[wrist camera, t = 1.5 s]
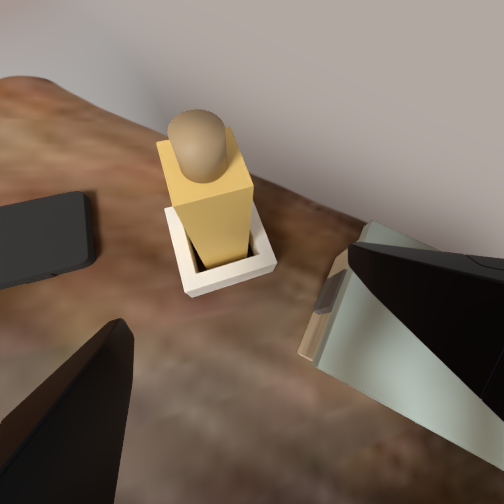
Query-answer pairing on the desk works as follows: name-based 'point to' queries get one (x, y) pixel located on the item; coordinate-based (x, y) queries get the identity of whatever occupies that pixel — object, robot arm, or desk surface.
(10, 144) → the desk surface
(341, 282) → the toolbox
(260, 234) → the white square frame
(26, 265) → the smart home device
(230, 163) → the yellow block with peg
